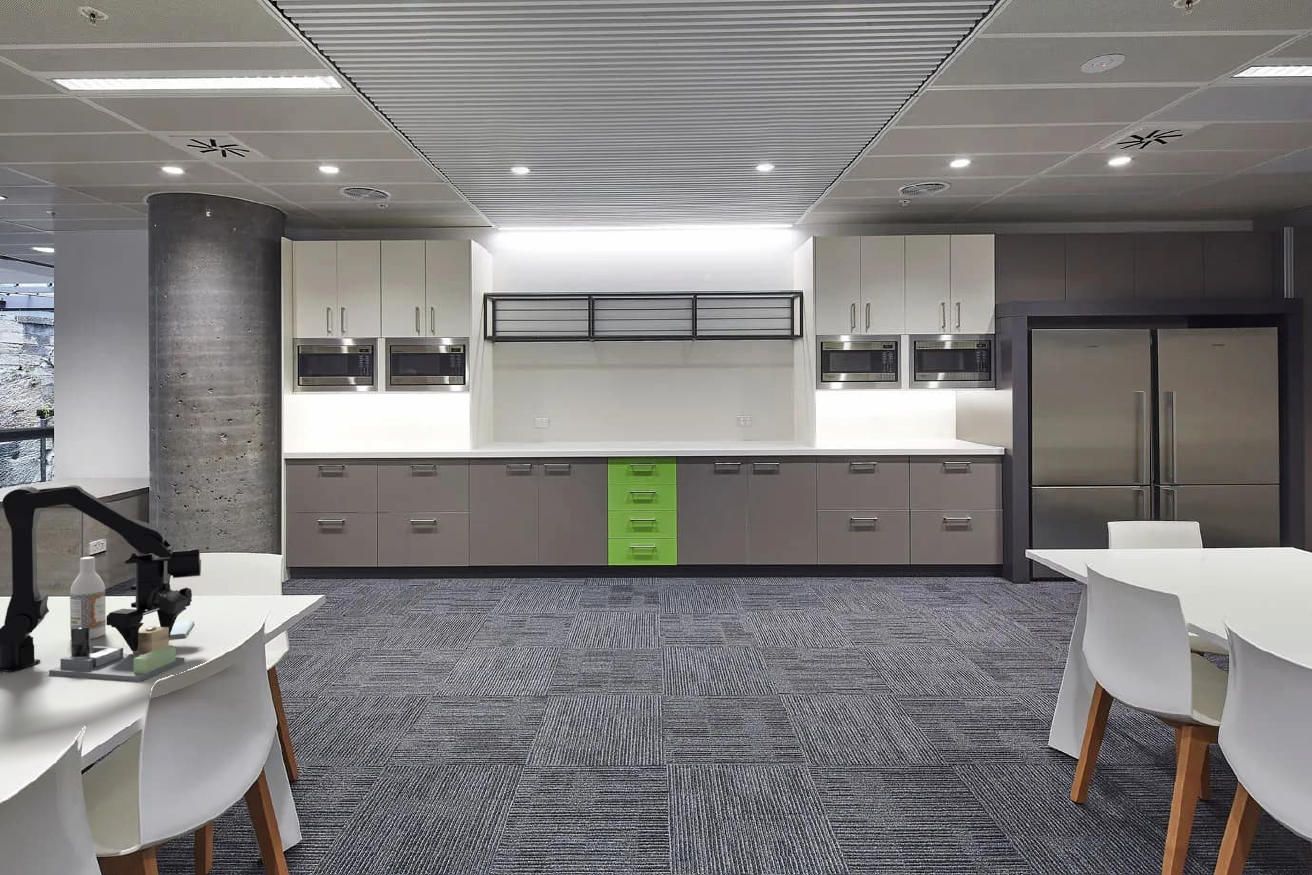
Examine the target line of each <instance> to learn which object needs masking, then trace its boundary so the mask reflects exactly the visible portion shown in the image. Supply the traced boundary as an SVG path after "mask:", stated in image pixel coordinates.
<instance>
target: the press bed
mask: <svg viewBox="0 0 1312 875" xmlns="http://www.w3.org/2000/svg"><path fill="white" fill-rule="evenodd" d="M107 648H113V649H120V658H118V659H115V660H113V661H110V662H108V663H105V664H103V665H100V666H98V667H93V659H84V658H70V656H69V657H68V656H67V657H66V656H64V657H61V658H60V659H59V660H60V662H59V663H60V666H57V667H54V668H51V669H48V675H49V676H61V677H62V676H63V677H74V678H87V679H88V678H89V679H91V678H92V679H100V680H101V679H102V680H103V679H104V680H114V681H116V680H117V681H131V682H143V681H145V680H147V679H149V678H152V677H154V676H156V675H158V674H160V673H163V672H165V671H167V670H169V669H173V668H174V667H176V666H179V665H181V664H183V663H185V657H179V656H176V651H177V650H176V647H174V646H169V647H161V648H159V649H156V650H154V651H151V652H149V653H146V654H138V653H124V648H123V647H117V646H115V647H113V646H102V645H101V646H100V645H95V646H92V648H91V654H94V653H97V652H99V651H102V650H105V649H107Z"/></svg>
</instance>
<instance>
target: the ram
mask: <svg viewBox="0 0 1312 875" xmlns="http://www.w3.org/2000/svg"><path fill="white" fill-rule="evenodd" d="M90 640H91V639H90V636H89V626H79V627H74V628H72V629H70V648H71V649H70V650H71V655H70V656H69V657H70V658H84V659H93V667H98V666H100V665H103V664H105V663H108V662H110V661H113V660H115V659H118V658H120V649H113V648H107V649H105V650H102V651H99V652H97V653H94V654H92V653H91V652H90V651H91V648H90V646H91V645H90V643H91V642H90Z"/></svg>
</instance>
